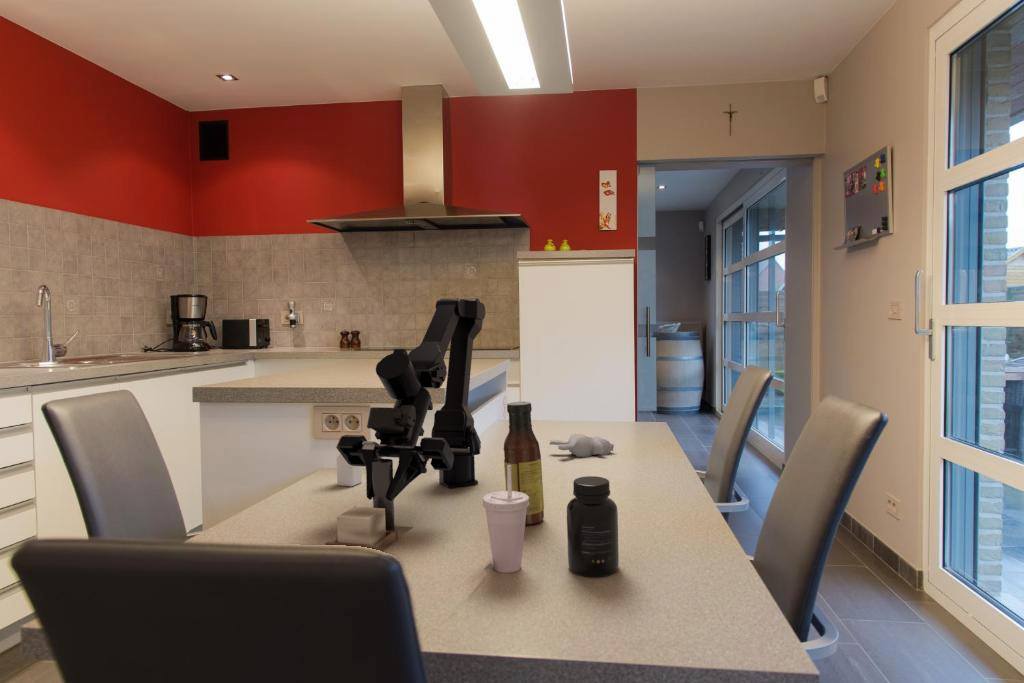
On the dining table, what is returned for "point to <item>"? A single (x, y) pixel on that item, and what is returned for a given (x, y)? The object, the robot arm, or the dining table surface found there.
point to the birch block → (362, 526)
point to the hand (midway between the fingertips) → (379, 498)
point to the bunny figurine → (584, 445)
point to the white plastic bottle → (348, 473)
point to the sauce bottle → (524, 460)
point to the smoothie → (506, 526)
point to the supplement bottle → (592, 528)
